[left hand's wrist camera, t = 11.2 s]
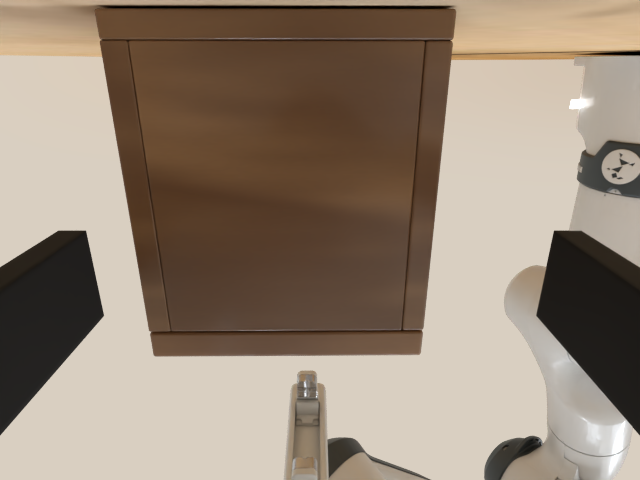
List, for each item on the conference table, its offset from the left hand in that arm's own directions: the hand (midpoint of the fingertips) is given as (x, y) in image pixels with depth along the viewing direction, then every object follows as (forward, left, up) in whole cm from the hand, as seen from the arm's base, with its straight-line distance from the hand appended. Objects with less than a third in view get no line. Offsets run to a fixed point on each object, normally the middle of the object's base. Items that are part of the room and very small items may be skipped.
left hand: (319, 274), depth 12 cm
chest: (+9, -3, -7) cm, 12 cm away
